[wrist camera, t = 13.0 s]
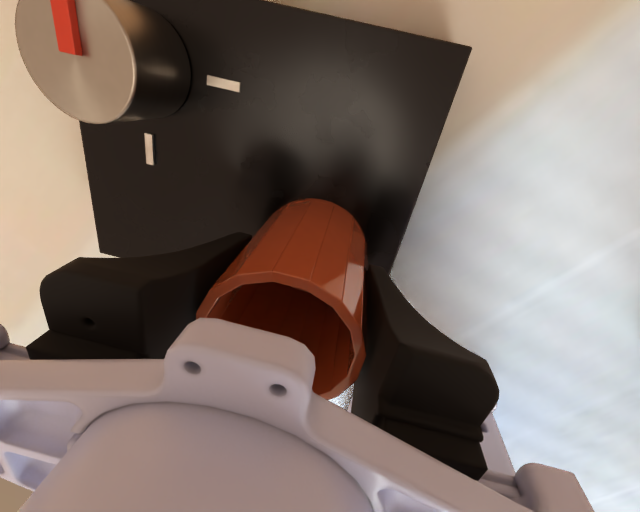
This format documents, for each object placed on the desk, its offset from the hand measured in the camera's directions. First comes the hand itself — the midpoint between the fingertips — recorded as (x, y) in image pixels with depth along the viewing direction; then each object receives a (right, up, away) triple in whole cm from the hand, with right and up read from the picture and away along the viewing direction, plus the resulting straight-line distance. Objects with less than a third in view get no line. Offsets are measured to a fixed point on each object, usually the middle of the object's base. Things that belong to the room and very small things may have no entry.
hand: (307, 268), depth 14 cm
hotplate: (-3, +6, +3) cm, 7 cm away
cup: (0, +1, +2) cm, 2 cm away
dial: (-7, +8, -1) cm, 11 cm away
